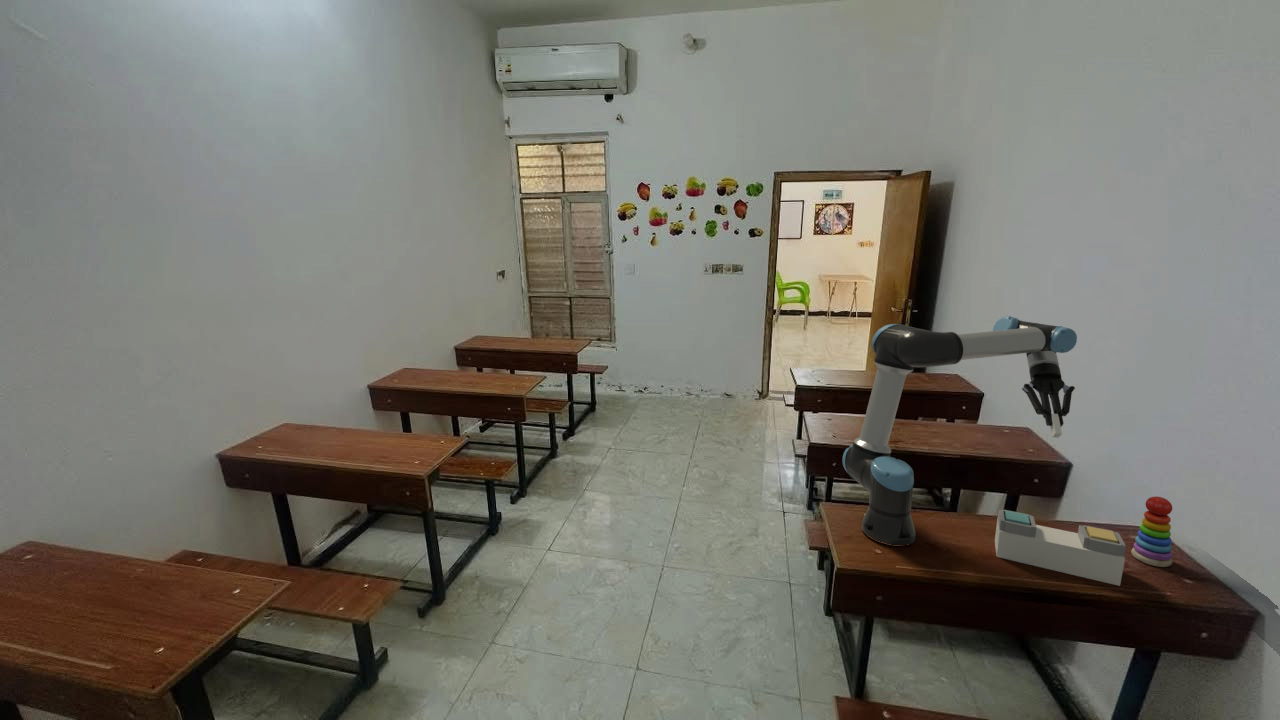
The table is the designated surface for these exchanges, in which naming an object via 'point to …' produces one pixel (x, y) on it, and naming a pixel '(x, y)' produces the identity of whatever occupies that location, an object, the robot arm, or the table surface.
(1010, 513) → the teal button
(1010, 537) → the button console
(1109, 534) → the mustard button
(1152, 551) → the stacking toy
